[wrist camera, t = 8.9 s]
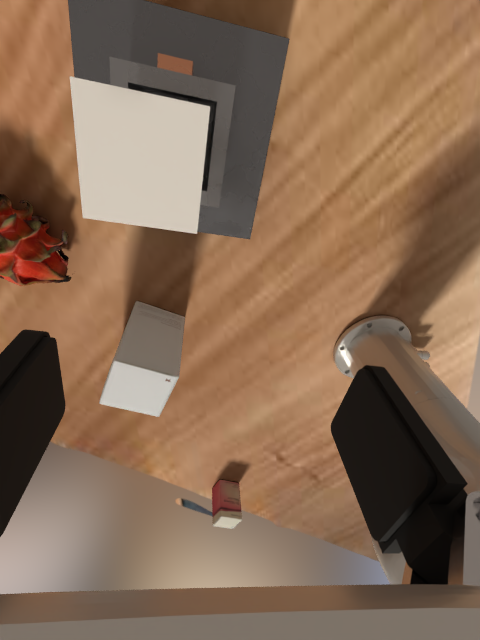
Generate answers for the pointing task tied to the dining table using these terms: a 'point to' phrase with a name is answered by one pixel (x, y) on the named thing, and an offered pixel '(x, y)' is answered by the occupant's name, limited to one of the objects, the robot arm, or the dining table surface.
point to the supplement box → (145, 361)
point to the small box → (226, 504)
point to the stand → (193, 88)
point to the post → (139, 156)
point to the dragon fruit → (29, 247)
